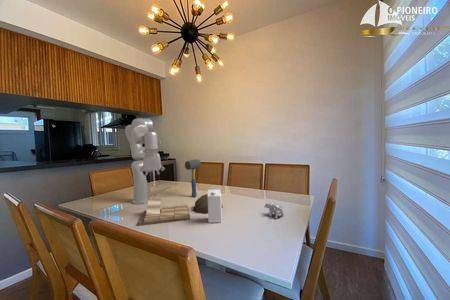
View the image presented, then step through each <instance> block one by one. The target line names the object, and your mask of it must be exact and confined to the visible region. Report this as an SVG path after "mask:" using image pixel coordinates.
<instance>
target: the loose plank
mask: <svg viewBox="0 0 450 300" xmlns="http://www.w3.org/2000/svg"><path fill="white" fill-rule="evenodd" d="M161 205H162V198H161V197H157V198H155V197H154V198H150V199H148V202H147V207H146V211H147V212H146V216H149V215H158V214H160V209H161V208H162V206H161Z"/></svg>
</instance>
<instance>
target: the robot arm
mask: <svg viewBox="0 0 450 300" xmlns="http://www.w3.org/2000/svg"><path fill="white" fill-rule="evenodd" d="M153 127H154V122H153V120H152V119H151V118H141V117H139V118H134V119H133V120H132V121H131V124H128V125H126V126H125V129H124V132H125V137H126V139H127V141H128V143H129V146H130V153H131V158H132V159H133V160H134V161H133V162H132V163H131V165H130V167H131V171H132V177H133V178H132V179H133V195H134V199H133V200H132V201H131V203H132V204H134V205H141V204H148V199H151V198H149V195H148V194H149V192H148V183H149V182H150V175H149V173H150V172H151V173H152V172H155V171H156V181H157V182H159V180H160V179H161V177H160V176H161V175H160V174H161V173H162V172H163V171H165V170H166V168H165V167H164V166H163V164H162V160H161V156H160V153H159V144H158V133H157V132H156V131H153V129H154V128H153ZM143 145H144V146H143Z"/></svg>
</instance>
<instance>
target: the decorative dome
mask: <svg viewBox="0 0 450 300" xmlns="http://www.w3.org/2000/svg"><path fill="white" fill-rule="evenodd" d="M222 203H223V202H221V205H222V209H223V208H224V207H223V204H222ZM192 210H193V211H194V212H195V213H196V214H203V215H206V214H207V215H208V193H207V194H206V193H205V194H203V195H201V196H200V197H198V199H197V200H196V201H195V202H194V206H193V209H192Z"/></svg>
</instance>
